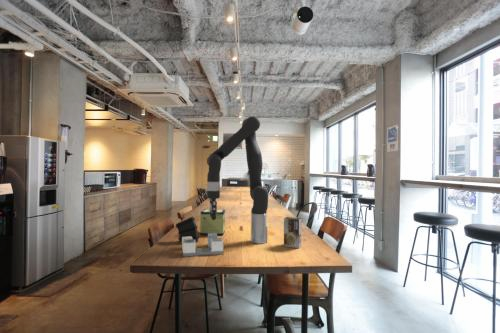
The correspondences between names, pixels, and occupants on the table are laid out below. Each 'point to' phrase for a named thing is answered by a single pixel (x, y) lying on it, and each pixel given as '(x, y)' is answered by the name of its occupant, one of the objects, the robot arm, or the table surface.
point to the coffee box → (292, 232)
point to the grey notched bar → (191, 250)
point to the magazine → (187, 229)
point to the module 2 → (210, 236)
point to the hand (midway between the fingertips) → (212, 218)
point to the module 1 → (186, 239)
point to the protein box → (212, 223)
